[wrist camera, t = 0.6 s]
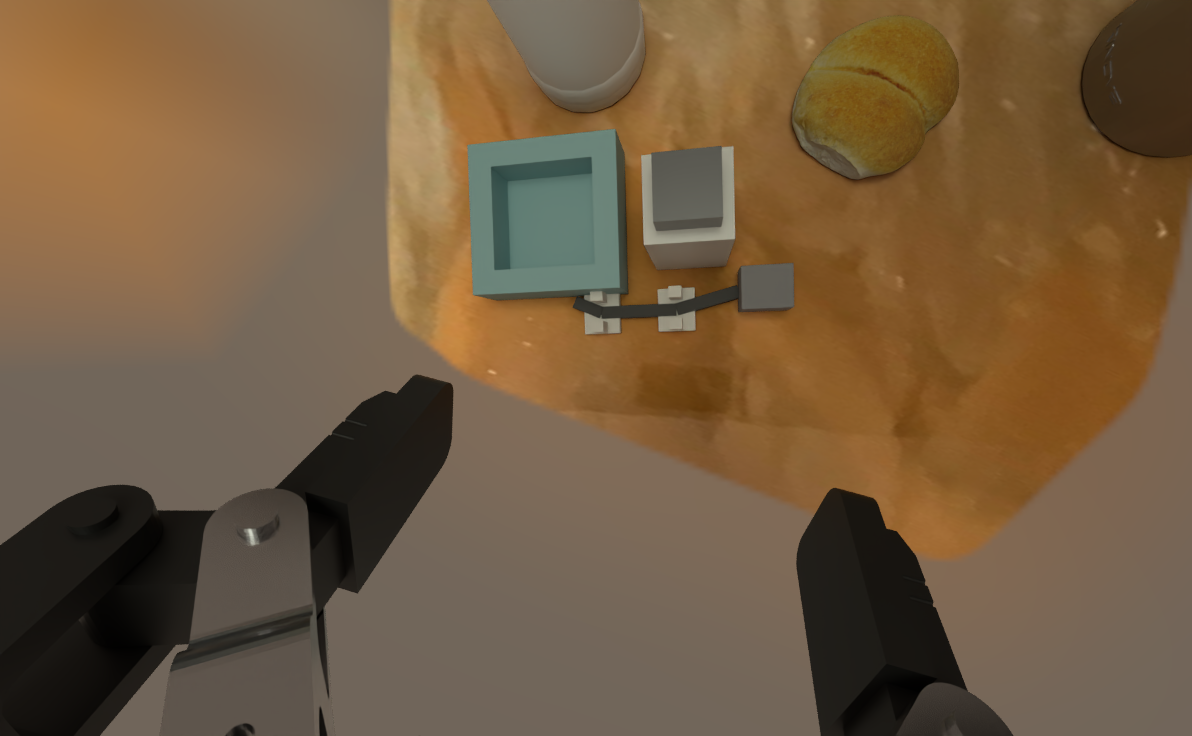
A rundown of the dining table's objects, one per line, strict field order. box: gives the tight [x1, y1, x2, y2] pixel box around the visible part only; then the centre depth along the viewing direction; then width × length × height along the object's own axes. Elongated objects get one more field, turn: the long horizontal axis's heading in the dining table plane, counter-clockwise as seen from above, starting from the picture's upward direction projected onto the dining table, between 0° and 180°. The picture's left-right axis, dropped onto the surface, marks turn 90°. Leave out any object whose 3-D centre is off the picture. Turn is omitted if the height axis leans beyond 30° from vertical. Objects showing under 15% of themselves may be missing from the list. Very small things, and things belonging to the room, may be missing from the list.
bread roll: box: [792, 15, 959, 179], centre depth 31 cm, size 8×9×4 cm
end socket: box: [468, 129, 628, 300], centre depth 35 cm, size 10×10×4 cm
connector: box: [641, 146, 735, 270], centre depth 30 cm, size 4×4×11 cm
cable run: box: [573, 263, 794, 334], centre depth 34 cm, size 14×4×3 cm, turn 92°
